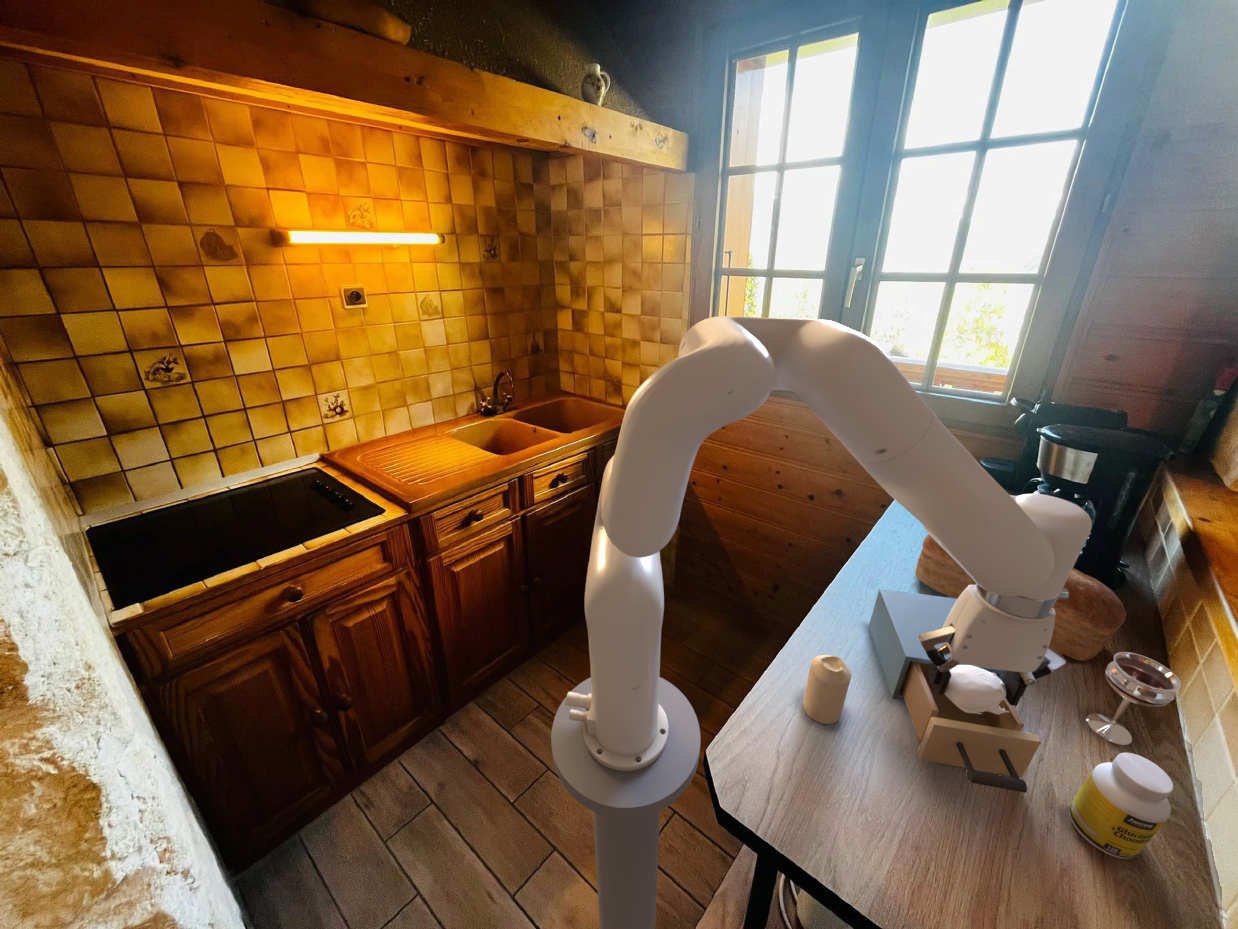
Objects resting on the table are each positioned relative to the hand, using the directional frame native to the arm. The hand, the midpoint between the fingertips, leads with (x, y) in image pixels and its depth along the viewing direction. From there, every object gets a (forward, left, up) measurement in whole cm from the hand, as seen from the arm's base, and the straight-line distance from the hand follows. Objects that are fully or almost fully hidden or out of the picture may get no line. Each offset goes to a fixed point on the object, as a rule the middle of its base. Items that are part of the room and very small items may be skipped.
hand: (971, 690), depth 67 cm
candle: (-18, +1, -10) cm, 20 cm away
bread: (+19, +31, -10) cm, 38 cm away
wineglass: (+23, +6, -10) cm, 26 cm away
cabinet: (0, +13, -10) cm, 16 cm away
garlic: (0, 0, -1) cm, 1 cm away
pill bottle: (+13, -10, -10) cm, 19 cm away
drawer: (0, -1, -9) cm, 9 cm away
